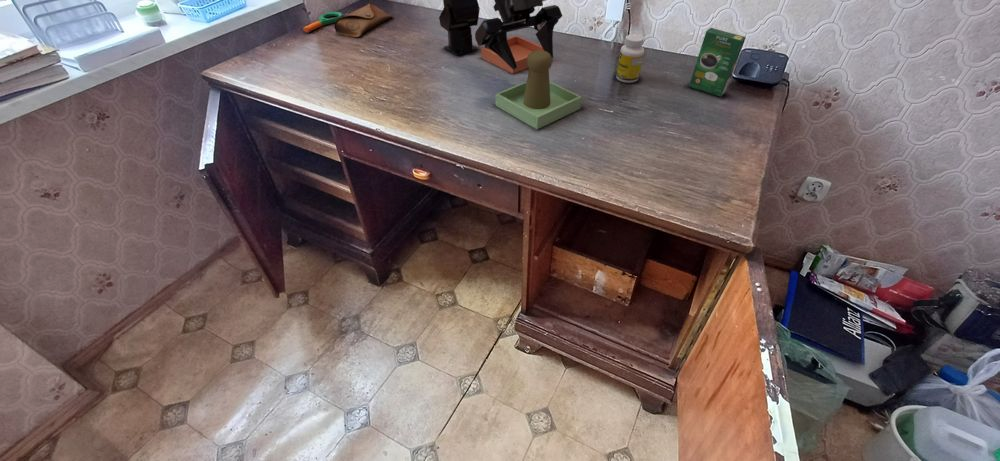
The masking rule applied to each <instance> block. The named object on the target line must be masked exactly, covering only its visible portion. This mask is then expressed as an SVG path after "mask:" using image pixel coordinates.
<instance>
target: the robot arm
mask: <svg viewBox="0 0 1000 461" xmlns="http://www.w3.org/2000/svg"><path fill="white" fill-rule="evenodd" d="M544 1H546V0H494V5H493V11H494V12H498V14H499V16H500V18H499V17H493V18H489V19H484V20H482V22H481V23H480V25H479V26H478V23H479V17H480V10H481V9H480V5H479V1H478V0H442V3H443V8H442V11H441V12H440V14H439V17H438V19H439V20H438V21H439V25H440V27H441V28H442V29H444V30H446V31H447V40H448V45H445V46H443V49H444V50H446V51H447V52H449V53H451V54H453V55H455V56H457V57H459V56H463V55H465V54H468V53H471V52H474V51H477V50H478V48H477V46H478V47H485V48H489V49H491V50H492V51H493V52H495V53H496V54H497V55H498V56H500V57H501V58H502V59H503V60H504V61H505V62H506V63H507V64H508V65H509V66H510V67H511V68H512V69H513V70H515V69H516V68H517V66H516V62H515V59H514V57H513V54H512V52H511V49H510V47H509V44H508V42H507V39H508V35H507V33H510V32H511V33H512V32H514V31H518V30H523V29H528V28H531V27H533V29H534V30H535V31H536V33H535V37H536V38H537V40H538V42H539V45H540V46H542V48H543V50H544V51H546V52H548V53H549V54H550V55H551V57H552V59H554V42H553V41H554V40H553V39H554V28H555V26H556V25H557V24H558V23H559V21H560V19H561V18H562V17H563V14H562V10H561V8H560V7H559V5H556V4H553V5H548V6H544V3H543V2H544ZM536 7H541V8H540V9H539V11H538V12H537V13H536V14H534V15H532V16H531V14H533V13H534V12H535V11H536V9H535V8H536ZM473 26H475V27H476V26H478V28H477V30H476V31H475V32H474V38H475V39H474V40H475V41H476V44H477V46H475V45H473V34H472V27H473Z"/></svg>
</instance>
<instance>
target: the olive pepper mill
mask: <svg viewBox="0 0 1000 461" xmlns="http://www.w3.org/2000/svg"><path fill="white" fill-rule="evenodd" d="M552 63H553V58H552V57H551V55H550V54H549V53H548V52H546V51H542V50H536V51H533V52H531V53H530V54H529V55H528V57H527V66H528V68H527V69H528V73H527V77H526V81H527V84H526V89H525V95H524V101H523V103H524V105H525V106H526V107H529V108H532V109H543V108H546V107H548V106H549V105H550V104H551V100H550V83H549V81H550V68H551V67H552Z"/></svg>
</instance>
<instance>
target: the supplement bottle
mask: <svg viewBox="0 0 1000 461" xmlns="http://www.w3.org/2000/svg"><path fill="white" fill-rule="evenodd" d="M644 40H645V38H644V37H643V36H642V35H640V34H634V33H632V34H628V35H626V36H625V40H624V44H623V45H622V46H621V48H620V51H619V57H618V62H617V67H616V74H615V78H616V79H617V80H618V81H619V82H621V83H624V84H625V83H626V84H631V83H636V82H637V81H639V78H640V74H641V69H642V64H643V60H644V55H645V48H644V46H643V44H644Z"/></svg>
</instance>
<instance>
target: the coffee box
mask: <svg viewBox="0 0 1000 461" xmlns="http://www.w3.org/2000/svg"><path fill="white" fill-rule="evenodd" d="M746 38H747V37H746V36H743V35H740V34H736V33H733V32H728V31H725V30H721V29H717V28H713V27H710V28H708V29H707V30H706V31H705V34H704V37H703V40H702V43H701V46H700V49H699V51H698V52H699V53H698V56H697V59H696V61H695V64H694V68H693V71H692V75H691V78H690V81H689V83H688V87H689V88H692V89H694V90H698V91H700V92H701V91H702V92H704V93H707V94H711V95H713V96H717V97H719V98H722V97H723V95H725V93H726V92H727V91H726V90H727V88H728V86H729V83H730V81H731V78H732V75H733V73H734V69H735V67H736V64H737V62H738V59H739V56H740V55H741V52H742V49H743V46H744V44H745V41H746Z"/></svg>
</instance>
